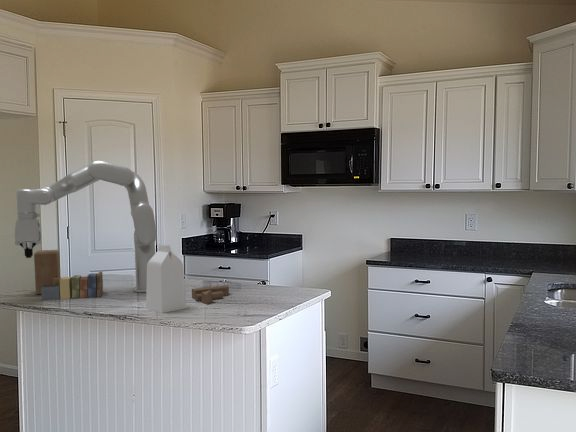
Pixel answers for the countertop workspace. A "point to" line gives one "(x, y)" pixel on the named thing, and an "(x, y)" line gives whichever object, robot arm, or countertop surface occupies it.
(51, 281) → the wooden block
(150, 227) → the robot arm
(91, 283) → the rack
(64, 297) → the tan rectangular block
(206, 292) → the wooden block set
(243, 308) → the countertop surface
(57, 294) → the grey stone cube
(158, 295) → the milk
